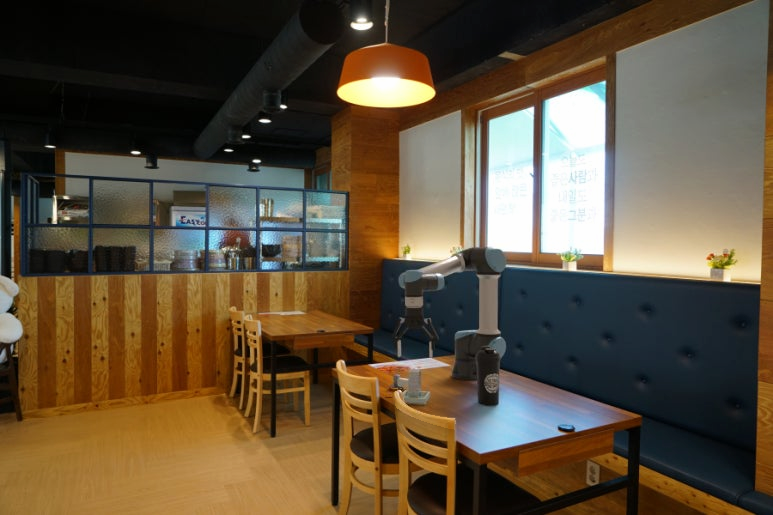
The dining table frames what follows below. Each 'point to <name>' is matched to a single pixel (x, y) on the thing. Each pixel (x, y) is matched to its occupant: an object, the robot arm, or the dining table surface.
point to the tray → (418, 401)
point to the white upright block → (414, 383)
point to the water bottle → (488, 376)
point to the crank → (400, 381)
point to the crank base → (395, 386)
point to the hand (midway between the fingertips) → (415, 356)
